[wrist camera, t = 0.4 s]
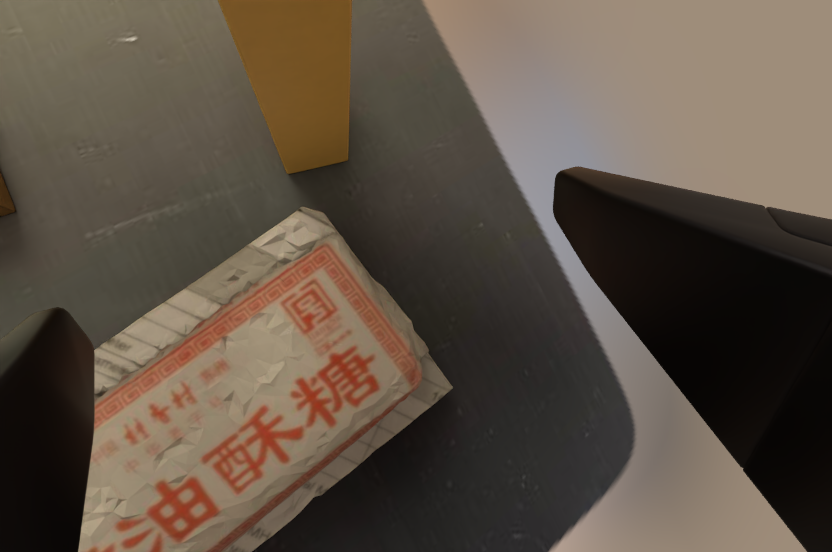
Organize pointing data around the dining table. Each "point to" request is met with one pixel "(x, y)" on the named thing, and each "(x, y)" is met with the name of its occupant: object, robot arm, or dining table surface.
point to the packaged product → (249, 396)
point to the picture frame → (5, 199)
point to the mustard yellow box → (298, 73)
